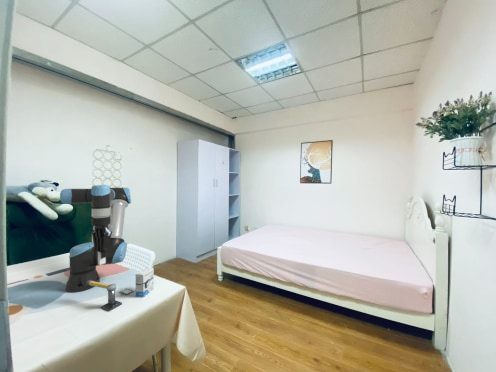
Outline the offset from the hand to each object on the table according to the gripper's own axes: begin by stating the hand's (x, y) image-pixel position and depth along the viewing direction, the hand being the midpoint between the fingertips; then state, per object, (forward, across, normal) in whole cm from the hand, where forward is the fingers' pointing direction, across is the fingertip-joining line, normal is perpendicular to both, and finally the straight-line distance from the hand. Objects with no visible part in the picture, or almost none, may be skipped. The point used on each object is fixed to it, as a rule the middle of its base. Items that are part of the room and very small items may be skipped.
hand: (101, 263), depth 102 cm
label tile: (+18, -4, -10) cm, 21 cm away
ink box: (+19, -13, -14) cm, 27 cm away
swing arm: (+10, -2, +2) cm, 11 cm away
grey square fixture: (+18, -9, +1) cm, 20 cm away
